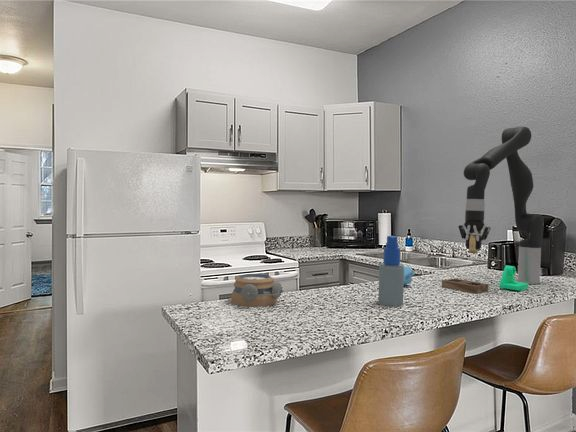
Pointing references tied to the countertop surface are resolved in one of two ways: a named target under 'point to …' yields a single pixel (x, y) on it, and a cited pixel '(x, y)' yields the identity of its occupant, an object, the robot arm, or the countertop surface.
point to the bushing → (472, 243)
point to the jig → (465, 285)
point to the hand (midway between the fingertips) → (473, 249)
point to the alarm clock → (255, 290)
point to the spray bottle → (391, 275)
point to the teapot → (407, 275)
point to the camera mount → (511, 280)
